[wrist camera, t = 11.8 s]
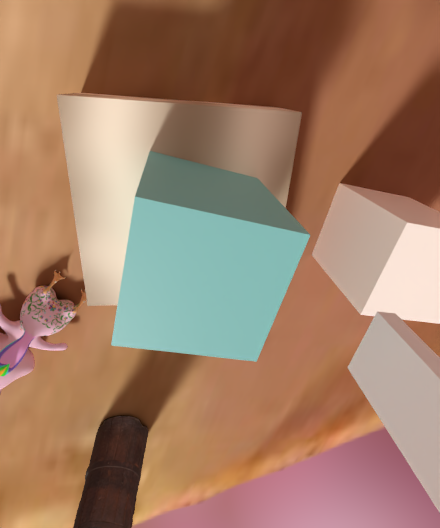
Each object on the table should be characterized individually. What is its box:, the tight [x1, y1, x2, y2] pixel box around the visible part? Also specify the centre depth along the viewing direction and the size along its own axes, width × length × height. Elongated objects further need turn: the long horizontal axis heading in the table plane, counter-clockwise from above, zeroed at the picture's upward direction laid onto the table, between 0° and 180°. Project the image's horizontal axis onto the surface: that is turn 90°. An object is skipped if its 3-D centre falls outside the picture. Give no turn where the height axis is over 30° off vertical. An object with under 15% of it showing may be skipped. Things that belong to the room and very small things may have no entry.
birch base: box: [57, 93, 302, 306], centre depth 21 cm, size 12×12×5 cm
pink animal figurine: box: [0, 270, 87, 394], centre depth 24 cm, size 6×6×15 cm
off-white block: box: [312, 183, 440, 324], centre depth 23 cm, size 6×6×8 cm
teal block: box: [111, 151, 310, 361], centre depth 15 cm, size 6×6×8 cm
